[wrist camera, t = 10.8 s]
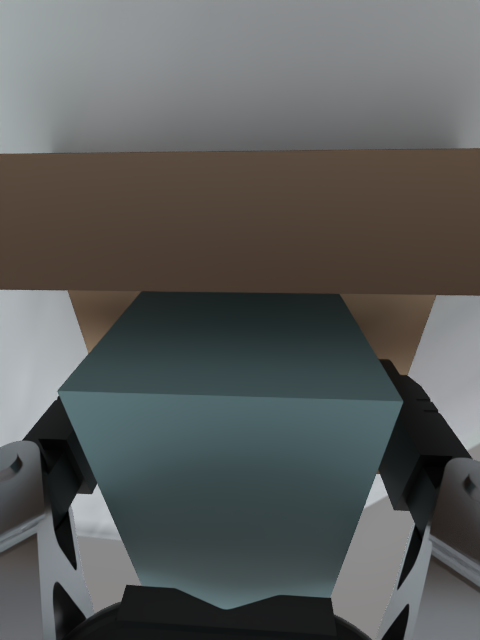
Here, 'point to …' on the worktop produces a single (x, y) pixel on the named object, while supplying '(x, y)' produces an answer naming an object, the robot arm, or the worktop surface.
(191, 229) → the wall rack
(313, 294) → the cabinet block
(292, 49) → the worktop surface
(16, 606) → the robot arm
